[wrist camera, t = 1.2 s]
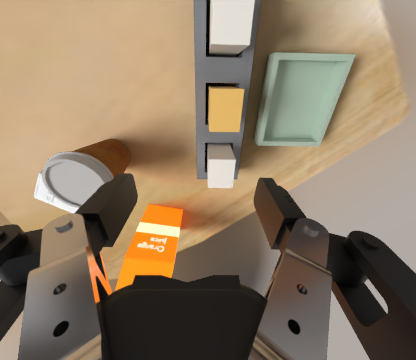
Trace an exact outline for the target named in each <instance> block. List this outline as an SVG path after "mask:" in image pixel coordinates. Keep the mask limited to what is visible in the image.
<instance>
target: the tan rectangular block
mask: <svg viewBox="0 0 416 360" xmlns="http://www.w3.org/2000/svg"><path fill="white" fill-rule="evenodd" d="M243 96H244V89H242V88H237V87H233V86H208V124H209V132H239V130H240V122H241V113H242V105H243Z"/></svg>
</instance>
